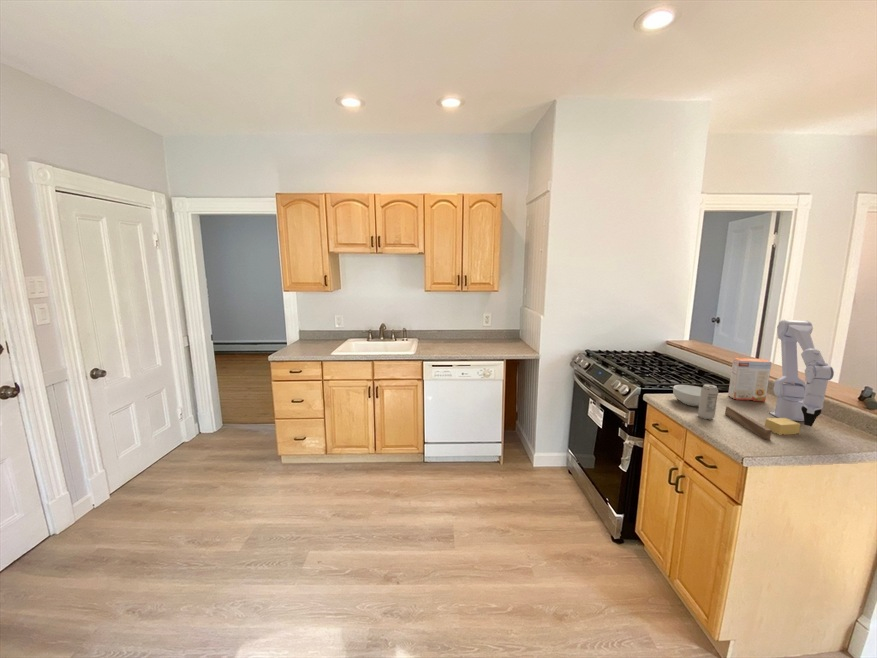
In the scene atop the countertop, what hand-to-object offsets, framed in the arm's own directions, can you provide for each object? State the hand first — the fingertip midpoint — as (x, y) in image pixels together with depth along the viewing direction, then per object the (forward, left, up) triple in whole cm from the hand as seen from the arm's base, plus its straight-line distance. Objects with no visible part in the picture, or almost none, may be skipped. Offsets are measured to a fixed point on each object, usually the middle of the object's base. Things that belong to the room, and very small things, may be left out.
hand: (808, 425), depth 147 cm
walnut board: (+21, -3, -3) cm, 21 cm away
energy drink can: (+33, -10, -3) cm, 35 cm away
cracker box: (-1, -37, -3) cm, 37 cm away
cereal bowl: (+30, -27, -3) cm, 41 cm away
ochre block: (+9, 0, -3) cm, 10 cm away
